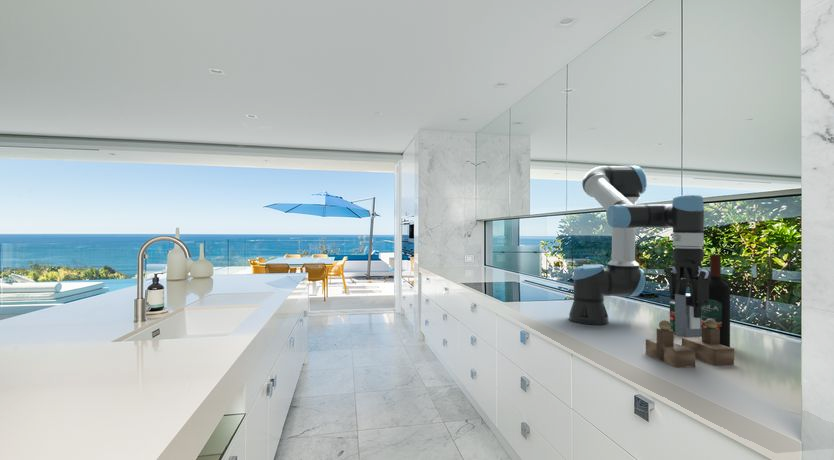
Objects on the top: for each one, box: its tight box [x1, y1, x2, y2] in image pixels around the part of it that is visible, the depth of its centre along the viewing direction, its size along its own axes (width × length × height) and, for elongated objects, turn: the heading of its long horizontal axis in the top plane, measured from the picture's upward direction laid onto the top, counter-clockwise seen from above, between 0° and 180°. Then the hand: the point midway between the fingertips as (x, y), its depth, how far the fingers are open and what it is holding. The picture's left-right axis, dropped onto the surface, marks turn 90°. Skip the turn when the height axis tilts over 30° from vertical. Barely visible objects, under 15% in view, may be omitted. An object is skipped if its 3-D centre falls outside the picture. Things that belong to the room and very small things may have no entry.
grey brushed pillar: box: [674, 292, 701, 338], centre depth 115 cm, size 4×5×12 cm
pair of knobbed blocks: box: [645, 319, 735, 368], centre depth 115 cm, size 12×18×12 cm, turn 97°
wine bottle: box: [700, 254, 731, 348], centre depth 128 cm, size 8×8×30 cm
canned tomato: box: [669, 300, 675, 334], centre depth 144 cm, size 8×8×11 cm
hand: (688, 326), depth 115 cm, fingers closed on grey brushed pillar, 4 cm apart
